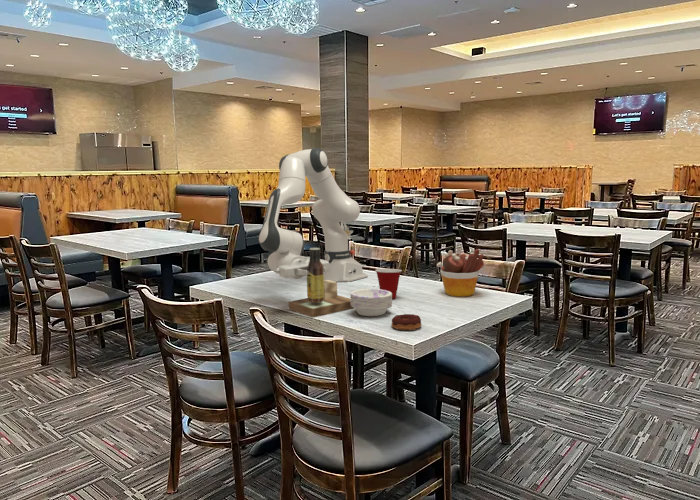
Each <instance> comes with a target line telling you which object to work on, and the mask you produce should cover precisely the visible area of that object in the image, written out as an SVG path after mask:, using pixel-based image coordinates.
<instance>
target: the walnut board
mask: <svg viewBox="0 0 700 500" xmlns="http://www.w3.org/2000/svg"><path fill="white" fill-rule="evenodd" d="M350 299H351V297H345V296H342V295H338V294H337V297H335V298H331V299H326V300H325V299H324V300H323V301H322V302H309V301H308V297H306V298H301V299H296V300H290V301H288V310H290V311H293V312H295V313H299V314H301V315H304V316H308V317H311V318H312V319H313V318H317V317H321V316H327V315H330V314H334V313H340V312H344V311H348V310H353V309H355V308H354V307H352V306H351V301H350Z"/></svg>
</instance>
